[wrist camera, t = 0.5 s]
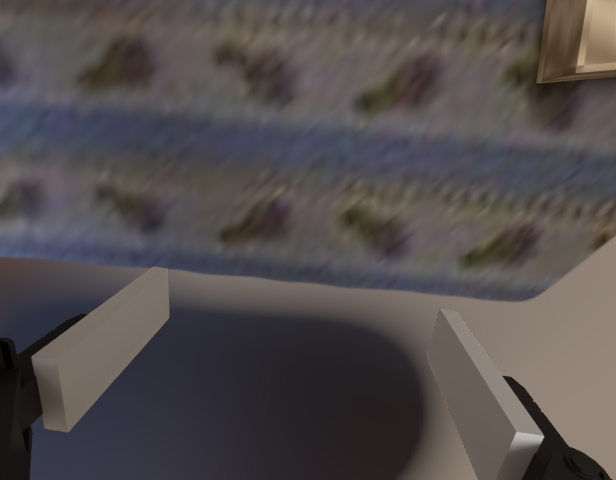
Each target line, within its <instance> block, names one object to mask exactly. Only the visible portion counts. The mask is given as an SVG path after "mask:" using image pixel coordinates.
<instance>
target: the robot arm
mask: <svg viewBox="0 0 616 480" xmlns="http://www.w3.org/2000/svg"><path fill="white" fill-rule="evenodd" d="M168 280H169V277H168V269H166V268H159V267H152V268H150V269H149V270H148V271H146V272H145V273H144V274H142V275H141V276H140V277H138V278H137V279H136V280H134V281H133V282H131V283H130V284H129V285H127V286H126V287H125V288H123V289H122V290H121V291H120V292H118V293H117V294H115V295H114V296H113V297H111V298H110V299H109V300H107V301H106V302H105V303H103V304H102V305H100V306H99V307H98V308H96V309H95V310H94V311H92V312H91V313H90V314H80V315H78V316H76V317H73V318H71V319H68V320H66V321H65V322H64V323H62V324H61V325H59V326H58V327H56V328H55V330H52V331H51V332H49V333H48V334H46V336H45V337H42V338H41V339H39V340H38V341H37V342H35V343H34V344H32V345H31V346H29V347H28V348H27V349H25V350H24V351H23V352H21V353H19V354H18V355H17V354H16V349H15V344H14V341H13V340H11V339H9V338H0V480H30V464H31V449H32V434H33V433H32V427H31V424H32V423H33V422H34V421H35V420H36V419H37V418H39V417H40V415H42V417H43V423H44V428H45V429H51V430H58V431H63V432H69V431H70V430H71V428H72V427H73V426H74V425H75V424H76V423H77V422H78V420H79V419H80V418H81V417H82V416H83V415H84V414H85V413H86V412H87V410H88V409H89V408H90V407H91V406H92V404H94V402H95V401H96V400H97V399H98V398H99V397H100V396H101V395H102V393H103V392H104V391H105V390H106V389H107V388H108V387H109V385H110V384H111V383H112V382H113V381H114V380H115V379H116V378H117V376H118V375H119V374H120V373H121V372H122V371H123V370H124V368H125V367H126V366H127V365H128V364H129V363H130V362H131V361H132V359H133V358H134V357H135V356H136V355H137V354H138V353H139V351H140V350H141V349H142V348H143V347H144V346H145V345H146V344H147V342H148V341H149V340H150V339H151V338H152V337H153V336H154V335H155V333H156V332H157V331H158V330H159V329H160V328H161V327H162V325H163V324H164V323H165V322H166V321H167V320H168V319H169V281H168ZM426 358H427V360H428V363H429V365H430V367H431V369H432V372H433V374H434V377H435V379H436V381H437V384H438V386H439V388H440V391H441V393H442V395H443V398H444V400H445V403H446V405H447V407H448V410H449V412H450V414H451V417H452V419H453V422H454V424H455V426H456V429H457V431H458V433H459V436H460V438H461V441H462V443H463V445H464V448H465V450H466V452H467V455H468V457H469V459H470V462H471V464H472V467H473V469H474V471H475V474H476V476H477V478H478V480H612V479H610V477H609V476H608V474H607V473H606V471H605V470H604V469H603V468H602V467H601V466H600V465H599V464H598V463H597V462H596V461H595V460H593V459H592V458H590V457H589V456H587V455H586V454H584V453H583V452H581V451H578V450H576V449H574V448H572V447H569V446H568V445H567V444H566V442H565V441H564V440H563V438H562V437H561V436H560V434H559V433H558V432H557V430H556V429H555V428H554V426H553V425H552V424H551V423H550V421H549V420H548V418H547V417H546V416H545V415H544V413H543V412H541V409H540V408H539V407H538V405H537V404H536V403H535V402H533V399H532V397H531V396H530V395H529V393H528V392H527V391H526V389H525V388H524V387H522V386H521V385H520V384H519V383H518V382H516V381H515V380H514V379H513V378H512V377H508V376H502V375H501V374H500V372H499V371H498V369H497V368H496V367H495V365H494V364H493V362H492V361H491V359H490V358H489V357H488V355H487V354H486V352H485V351H484V349H483V348H482V347H481V345H480V344H479V342H478V341H477V339H475V337H474V335H473V334H472V332H471V331H470V330H469V328H468V327H467V325H466V324H465V323H464V321H463V320H462V318H461V317H460V315H459V314H458V313H457V311H456V310H449V309H442V308H440V309H439V313H438V316H437V320H436V323H435V327H434V330H433V333H432V337H431V340H430V344H429V347H428V350H427V354H426Z"/></svg>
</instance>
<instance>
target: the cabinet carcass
mask: <svg viewBox="0 0 616 480" xmlns="http://www.w3.org/2000/svg"><path fill="white" fill-rule="evenodd" d="M606 77H616V0H547V3H546V10H545V18H544V26H543V34H542V42H541V49H540V57H539V65H538V73H537V81H536V84H537V83H548V82H560V81H572V80H583V79H595V78H606Z"/></svg>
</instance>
